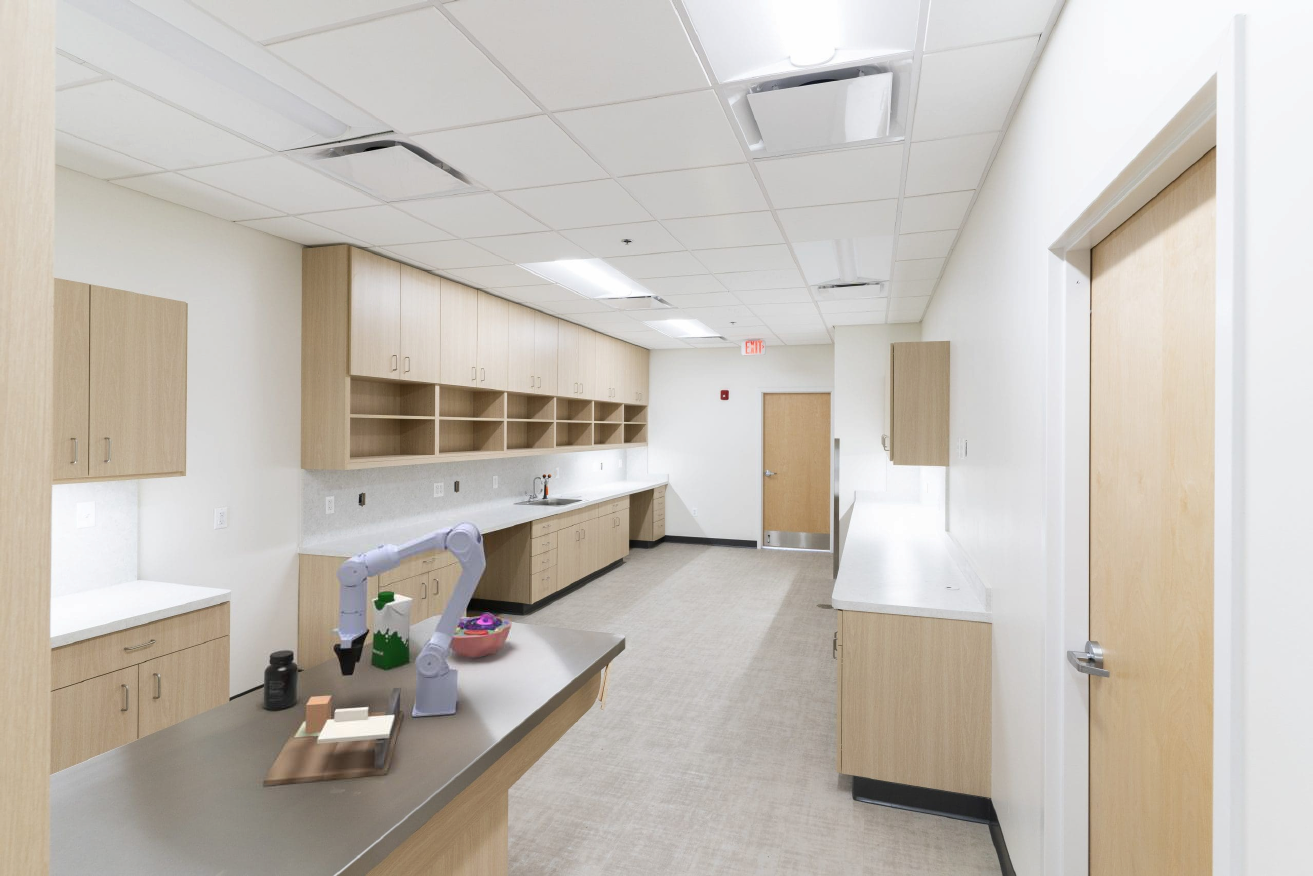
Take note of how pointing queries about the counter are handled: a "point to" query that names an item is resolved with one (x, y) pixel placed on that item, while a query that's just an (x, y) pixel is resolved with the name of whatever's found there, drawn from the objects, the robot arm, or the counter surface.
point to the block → (317, 713)
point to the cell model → (480, 635)
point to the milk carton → (391, 630)
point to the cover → (355, 726)
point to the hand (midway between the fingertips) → (351, 668)
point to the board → (335, 754)
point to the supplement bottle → (280, 681)
